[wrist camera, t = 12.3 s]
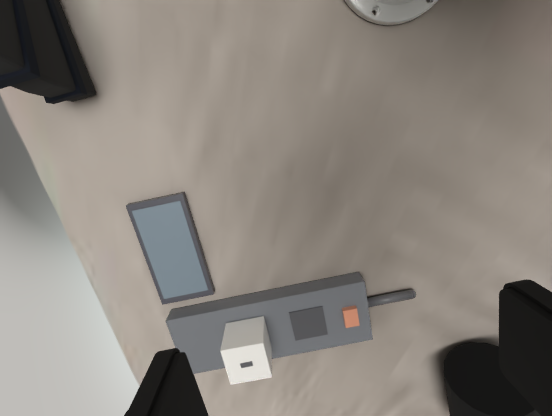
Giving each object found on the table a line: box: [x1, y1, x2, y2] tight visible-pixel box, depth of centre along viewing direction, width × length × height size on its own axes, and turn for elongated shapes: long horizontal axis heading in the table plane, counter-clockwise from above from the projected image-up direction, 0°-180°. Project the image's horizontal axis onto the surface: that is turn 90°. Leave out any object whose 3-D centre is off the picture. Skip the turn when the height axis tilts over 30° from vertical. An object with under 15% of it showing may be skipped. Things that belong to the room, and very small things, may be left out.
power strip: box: [166, 272, 416, 374], centre depth 40 cm, size 33×9×3 cm, turn 102°
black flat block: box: [0, 0, 96, 104], centre depth 26 cm, size 4×13×15 cm, turn 14°
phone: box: [126, 192, 215, 305], centre depth 38 cm, size 7×14×1 cm, turn 12°
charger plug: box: [220, 316, 272, 385], centre depth 38 cm, size 5×5×7 cm
